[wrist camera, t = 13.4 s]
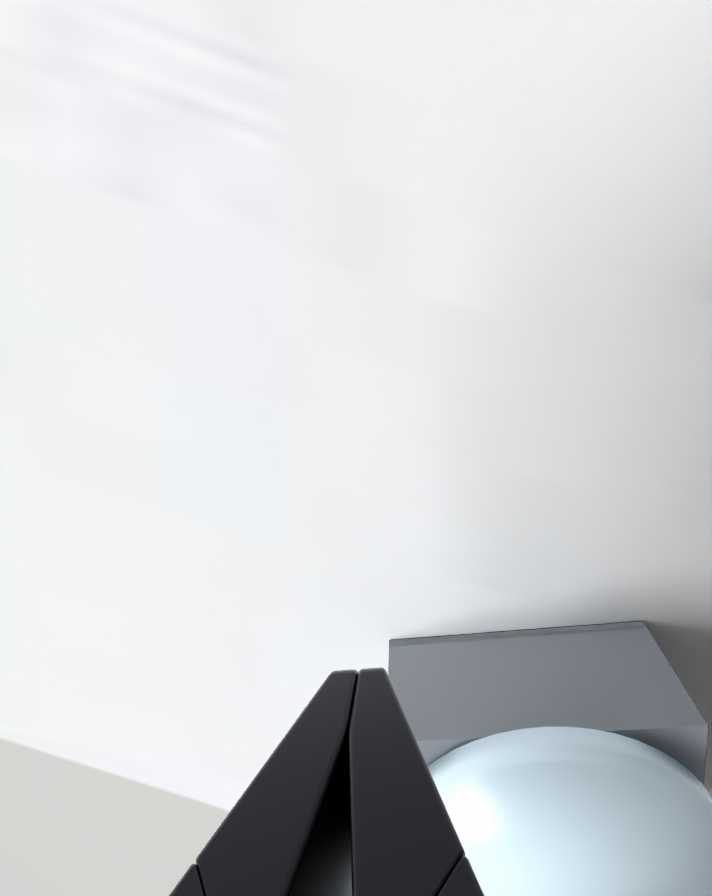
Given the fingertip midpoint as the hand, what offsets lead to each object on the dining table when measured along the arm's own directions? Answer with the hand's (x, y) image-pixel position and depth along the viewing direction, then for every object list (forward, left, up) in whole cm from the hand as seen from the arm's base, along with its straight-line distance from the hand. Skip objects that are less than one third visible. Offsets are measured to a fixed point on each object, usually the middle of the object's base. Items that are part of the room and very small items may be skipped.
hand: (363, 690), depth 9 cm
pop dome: (-4, +14, -11) cm, 18 cm away
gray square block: (-4, +14, -12) cm, 19 cm away
